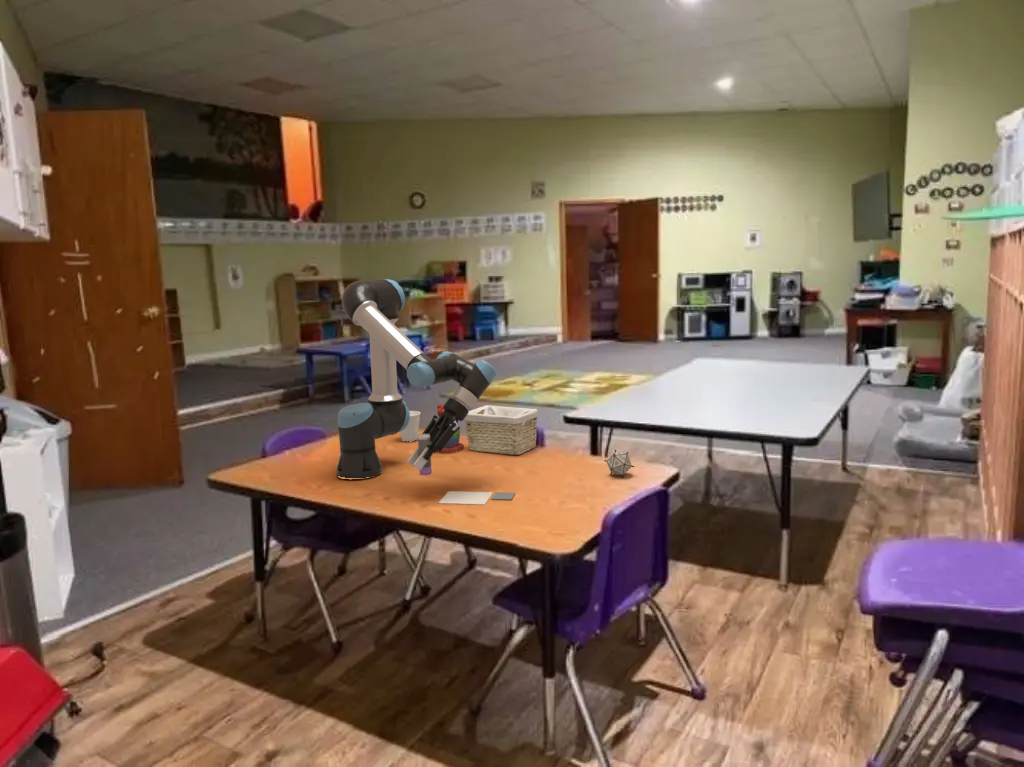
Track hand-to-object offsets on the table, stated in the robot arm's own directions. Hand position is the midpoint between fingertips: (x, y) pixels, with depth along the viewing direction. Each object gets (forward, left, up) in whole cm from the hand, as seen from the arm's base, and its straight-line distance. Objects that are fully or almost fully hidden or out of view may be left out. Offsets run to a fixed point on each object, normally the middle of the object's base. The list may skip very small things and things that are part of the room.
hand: (413, 465), depth 225 cm
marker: (+3, +3, -3) cm, 5 cm away
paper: (+15, +1, -10) cm, 18 cm away
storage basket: (+14, +58, -10) cm, 61 cm away
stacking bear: (-6, +55, -10) cm, 56 cm away
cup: (-26, +69, -10) cm, 74 cm away
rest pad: (+26, +3, -10) cm, 28 cm away
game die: (+59, +27, -10) cm, 66 cm away
